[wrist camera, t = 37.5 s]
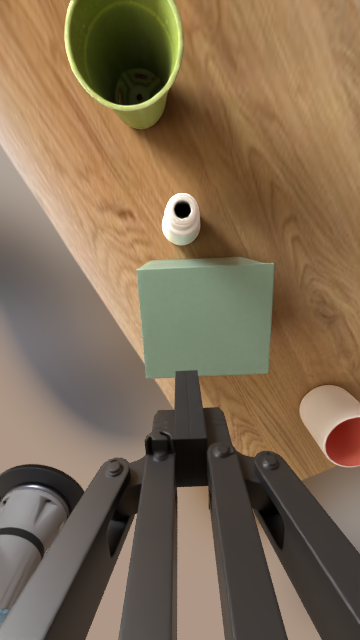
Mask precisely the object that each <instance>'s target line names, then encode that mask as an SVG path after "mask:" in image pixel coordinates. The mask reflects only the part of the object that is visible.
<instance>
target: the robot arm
mask: <svg viewBox="0 0 360 640" xmlns="http://www.w3.org/2000/svg"><path fill="white" fill-rule="evenodd" d="M145 448H146V455H145V456H144V457H143V458H141V459H140V460H137V461H135V462H132V463H129V462H128V461H127V460H126V459H123V458H113V459H110V460H108V461H107V462H105V463H104V464H103V465H102V466H101V467H100V469H99V471H98V472H97V474H96V475H95V477H94V478H93V480H92V482H91V483H90V485H89V486H88V488H87V489H86V491H85V493H84V494H83V496H82V497H81V499H80V500H79V502H78V504H77V505H76V507H75V508H74V510H73V511H72V513H71V515H70V505H69V502H68V500H67V499H66V497H65V496H64V495H63V494H62V493H61V492H60V491H59V490H57V489H56V488H54V487H52V486H50V485H47V484H44V483H39V482H25V483H21V484H18V485H16V486H14V487H12V488H11V489H10V490H9V491H8V492H7V494H6V495H5V496H4V498H3V499H2V501H1V503H0V640H85V639H86V636H87V634H88V631H89V629H90V626H91V624H92V621H93V619H94V616H95V614H96V611H97V609H98V606H99V604H100V601H101V599H102V596H103V594H104V591H105V589H106V586H107V584H108V581H109V579H110V576H111V574H112V571H113V569H114V566H115V564H116V561H117V559H118V556H119V554H120V551H121V549H122V546H123V544H124V541H125V539H126V536H127V534H128V531H129V529H130V526H131V524H132V521H133V519H134V515H135V514H137V519H136V526H135V533H134V539H133V546H132V553H131V559H130V566H129V573H128V579H127V586H126V592H125V599H124V606H123V613H122V619H121V626H120V632H119V639H118V640H177V487H192V486H208V487H209V509H210V512H211V521H212V530H213V538H214V547H215V556H216V564H217V574H218V582H219V590H220V600H221V608H222V617H223V626H224V635H225V640H288V638H287V635H286V631H285V628H284V624H283V620H282V617H281V613H280V609H279V606H278V602H277V598H276V595H275V591H274V587H273V583H272V580H271V576H270V572H269V569H268V566H267V562H266V558H265V554H264V551H263V547H262V543H261V539H260V536H259V532H258V528H257V525H256V521H255V517H254V514H253V510H254V513H255V515H256V517H257V518H258V520H259V522H260V524H261V526H262V528H263V530H264V532H265V533H266V535H267V537H268V539H269V541H270V543H271V545H272V546H273V548H274V550H275V552H276V554H277V556H278V558H279V560H280V562H281V564H282V565H283V567H284V569H285V571H286V573H287V575H288V577H289V579H290V580H291V582H292V584H293V586H294V588H295V590H296V592H297V594H298V595H299V597H300V599H301V601H302V603H303V605H304V607H305V609H306V611H307V613H308V614H309V616H310V618H311V620H312V622H313V624H314V626H315V627H316V629H317V631H318V633H319V635H320V637H321V639H322V640H360V554H359V552H358V551H357V550H356V549H355V547H354V546H353V545H352V544H351V542H350V541H349V540H348V539H347V538H346V536H345V535H344V534H343V533H342V531H341V530H340V529H339V528H338V526H337V525H336V524H335V523H334V521H333V520H332V519H331V518H330V516H328V514H327V513H326V511H325V510H324V509H323V508H322V506H321V505H320V504H319V503H318V501H317V500H316V499H315V498H314V496H313V495H312V494H311V493H310V491H309V490H308V489H307V488H306V486H305V485H304V484H303V483H302V481H301V480H300V479H299V478H298V476H297V475H296V474H295V473H294V471H293V470H292V469H291V468H290V466H289V465H288V464H287V463H286V461H285V460H284V459H283V458H282V457H281V456H280V455H278V454H276V453H274V452H270V451H262V452H260V453H258V454H257V455H256V456H255V458H254V457H249V456H246V455H243V454H241V453H239V452H238V451H236V450H235V448H234V447H233V445H232V442H231V439H230V435H229V431H228V427H227V424H226V420H225V416H224V413H223V411H222V410H221V409H220V408H219V407H214V408H203V406H202V399H201V392H200V385H199V378H198V371H197V370H189V371H176V373H175V410H159V411H158V412H157V414H155V416H154V421H153V429H152V432H151V433H150V434H149V435H147V436H146V439H145ZM252 509H253V510H252ZM49 547H50V548H49ZM48 548H49V549H48ZM47 550H48V551H47ZM46 551H47V552H46ZM45 552H46V554H45ZM44 554H45V555H44ZM43 556H44V557H43Z"/></svg>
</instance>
